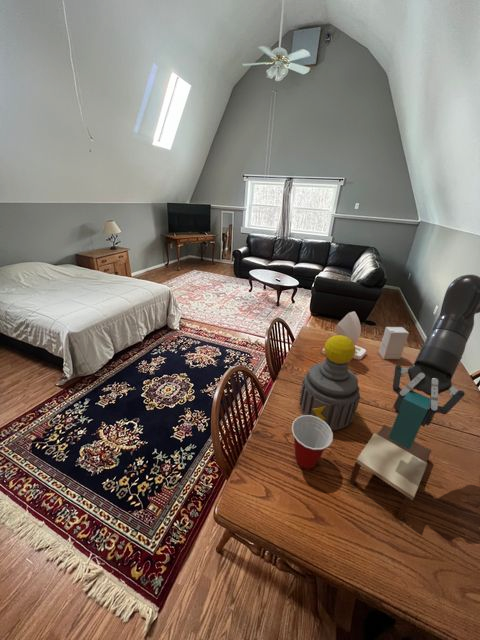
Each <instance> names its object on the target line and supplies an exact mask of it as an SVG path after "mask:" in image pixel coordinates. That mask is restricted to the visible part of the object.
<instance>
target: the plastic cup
mask: <svg viewBox="0 0 480 640" xmlns="http://www.w3.org/2000/svg"><path fill="white" fill-rule="evenodd" d="M291 431H292V432H291V433H292V435H293V440H294V441H293V443H294V446H293V447H294V457H295V461H296V463H297V465H298V466H300V467H301V468H304V469H306V470H311V469H313V468H314V467H315V466H316V465H317V463H318V462H319V460H320V459H321V457H322V455H323V453H324V452H325V449H326V448H329V446H330V445H331V444H332V442H333V438H334V434H333V430H331V428H330V427H329V426H328V424H327V423H326V422H325V421H323V420H322V419H320V418H318V417H315V416H312V415H303V414H302V415H300V416H298V417H296V418H295V419H294V420H293V422H292V424H291Z"/></svg>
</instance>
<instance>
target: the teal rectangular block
mask: <svg viewBox="0 0 480 640" xmlns="http://www.w3.org/2000/svg"><path fill="white" fill-rule="evenodd" d="M430 404H431V399H430V397H427V396H425V395H423V394H421V393H419V392H416V391H415V390H414V391H412V390H411V391H410V392H408V393H407V394H406V396H405V397H404V399H403V401H402V404H401V407H400V409H399V412H398V413H396V416H395V419H394V421H393V425H392V427H391V429H392V430H391V432H390V435H389V438H390V439H392V440H393V441H395V442H397V443H399V444H400V445H402V446H404V447H406V448H407V449H409V450H410V448H411V446H412V444H413V442H414V441H416V437H417V435H418V433H419V431H420V428H421V426H422V425H421V423H422V421H423V419H424V417H425V415H426V413H427V411H428V409H429V408H430Z"/></svg>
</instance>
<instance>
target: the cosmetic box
mask: <svg viewBox="0 0 480 640" xmlns="http://www.w3.org/2000/svg"><path fill="white" fill-rule="evenodd" d="M383 332H384V333H383V335H382V339H381V342H380V345H379V348H378V349H379V350H378V354H379V355H380V357H381V358H382V359H383V360H401V359H402V355H403V352H404V350H405V347H406V343H407V340H408V338H409V335H410V332H409V331H407V330H406V328H405V327H403V326H385V329H384V331H383Z"/></svg>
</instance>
